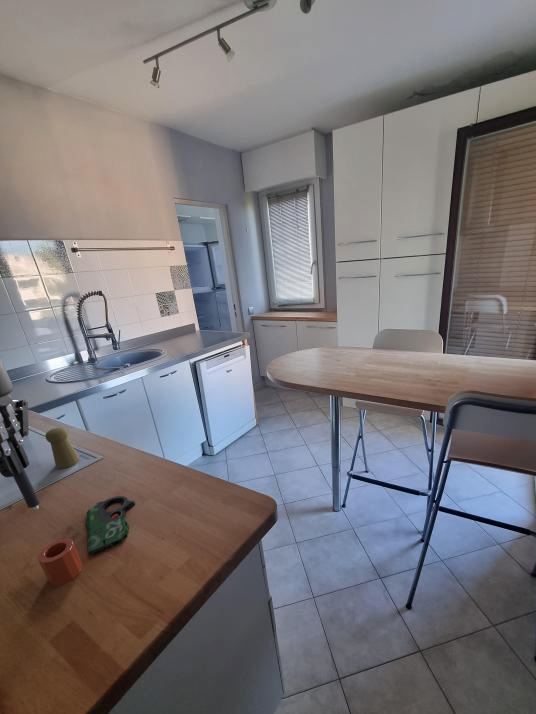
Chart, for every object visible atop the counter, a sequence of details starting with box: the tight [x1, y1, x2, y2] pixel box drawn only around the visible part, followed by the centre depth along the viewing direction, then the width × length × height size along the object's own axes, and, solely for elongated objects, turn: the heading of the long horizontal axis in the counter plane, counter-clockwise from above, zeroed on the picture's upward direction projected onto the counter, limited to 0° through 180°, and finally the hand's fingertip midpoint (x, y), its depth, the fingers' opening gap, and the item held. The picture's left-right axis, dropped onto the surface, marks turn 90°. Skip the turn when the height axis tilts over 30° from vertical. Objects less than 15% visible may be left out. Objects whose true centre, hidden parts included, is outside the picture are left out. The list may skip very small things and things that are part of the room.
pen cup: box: [37, 537, 83, 586], centre depth 60 cm, size 5×5×6 cm
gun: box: [85, 495, 136, 556], centre depth 72 cm, size 16×1×10 cm
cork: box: [45, 426, 81, 470], centre depth 95 cm, size 6×6×11 cm
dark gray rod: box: [7, 441, 41, 511], centre depth 53 cm, size 2×2×12 cm
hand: (17, 471), depth 52 cm, fingers closed on dark gray rod, 1 cm apart
